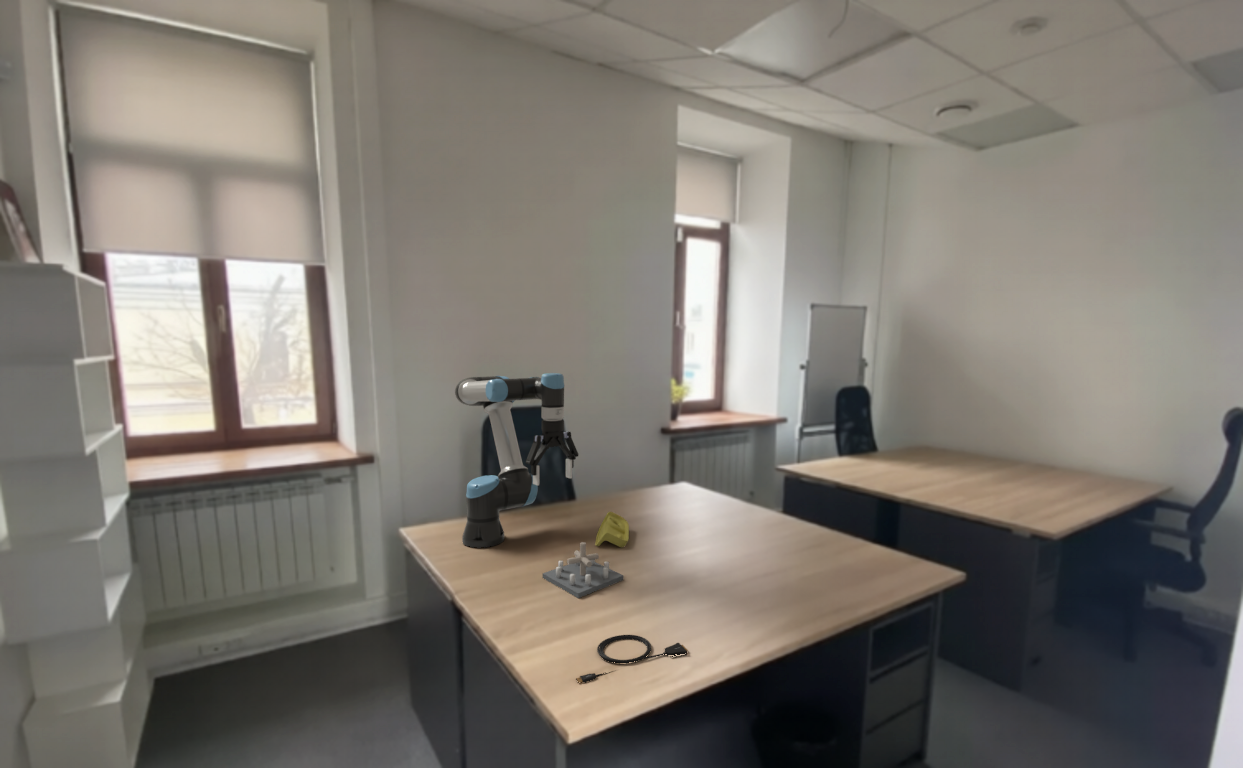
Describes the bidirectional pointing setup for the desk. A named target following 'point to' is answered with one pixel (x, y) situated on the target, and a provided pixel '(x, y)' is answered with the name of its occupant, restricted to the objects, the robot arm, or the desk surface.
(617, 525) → the plastic component
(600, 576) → the grey peg board
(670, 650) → the cable
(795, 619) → the desk surface
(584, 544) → the pipe connector
